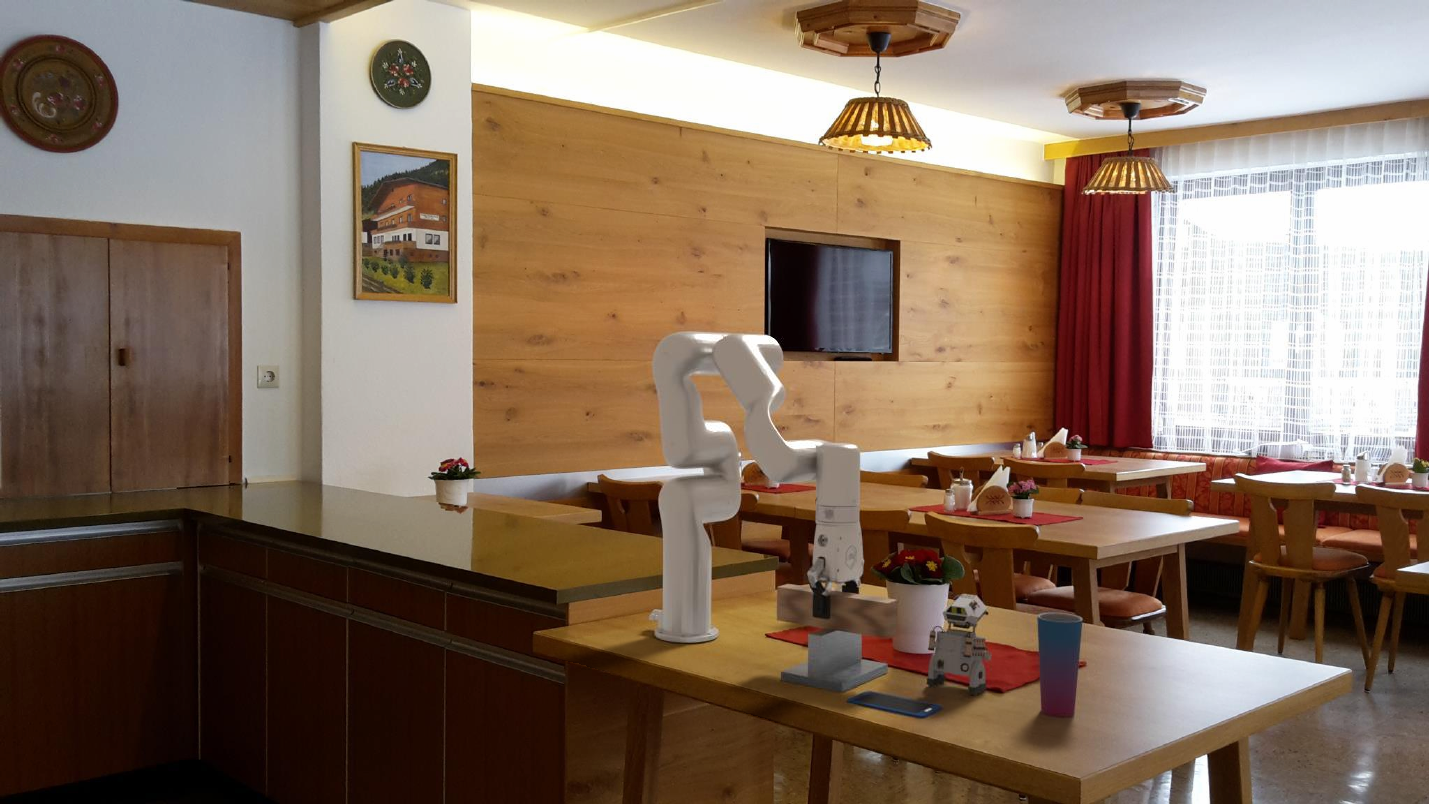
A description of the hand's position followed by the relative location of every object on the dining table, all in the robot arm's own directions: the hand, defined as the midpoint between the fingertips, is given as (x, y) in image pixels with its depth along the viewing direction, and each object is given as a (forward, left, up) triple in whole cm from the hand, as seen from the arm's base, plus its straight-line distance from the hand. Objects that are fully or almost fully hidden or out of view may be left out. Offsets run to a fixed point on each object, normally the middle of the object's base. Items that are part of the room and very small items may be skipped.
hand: (836, 613), depth 202 cm
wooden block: (0, 0, -2) cm, 3 cm away
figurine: (+20, +8, -11) cm, 24 cm away
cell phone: (+16, -9, -12) cm, 22 cm away
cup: (+38, +4, -11) cm, 40 cm away
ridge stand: (0, 0, -11) cm, 11 cm away
